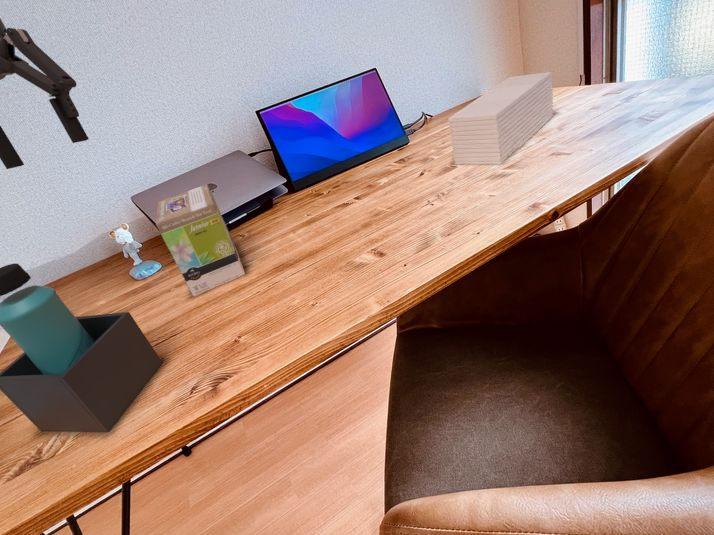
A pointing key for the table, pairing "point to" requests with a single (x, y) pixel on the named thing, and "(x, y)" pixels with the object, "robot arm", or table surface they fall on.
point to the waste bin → (86, 379)
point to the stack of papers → (501, 119)
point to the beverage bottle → (40, 323)
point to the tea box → (198, 239)
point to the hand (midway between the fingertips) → (47, 154)
